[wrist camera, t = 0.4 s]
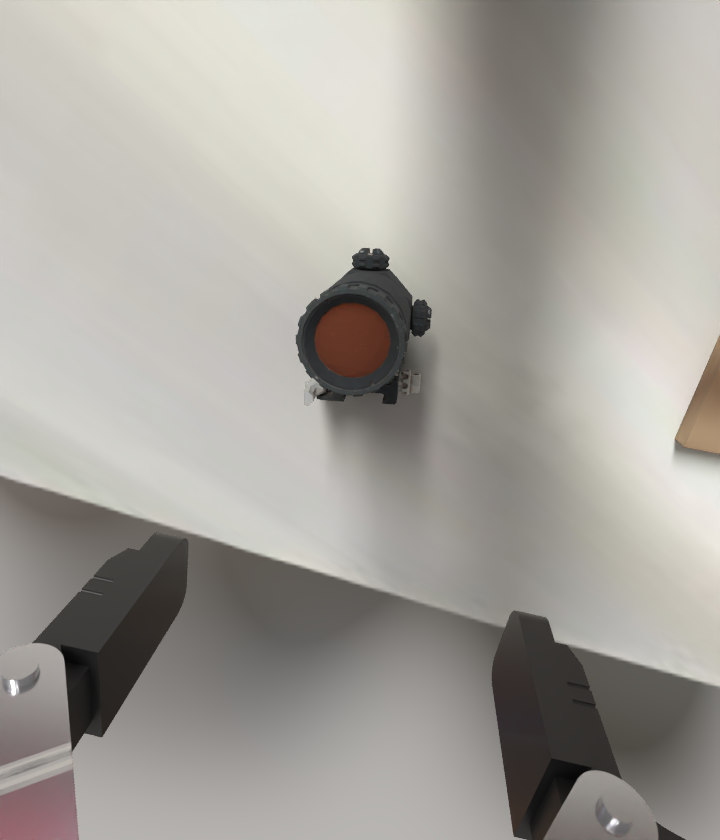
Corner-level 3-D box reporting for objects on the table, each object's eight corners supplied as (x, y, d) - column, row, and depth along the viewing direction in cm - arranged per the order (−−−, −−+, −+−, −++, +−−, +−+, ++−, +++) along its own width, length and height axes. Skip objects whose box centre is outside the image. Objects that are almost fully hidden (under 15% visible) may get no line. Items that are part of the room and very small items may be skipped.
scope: (268, 451, 27) (262, 254, 24) (318, 376, 40) (319, 241, 36) (422, 464, 27) (441, 263, 23) (422, 384, 39) (435, 247, 36)
